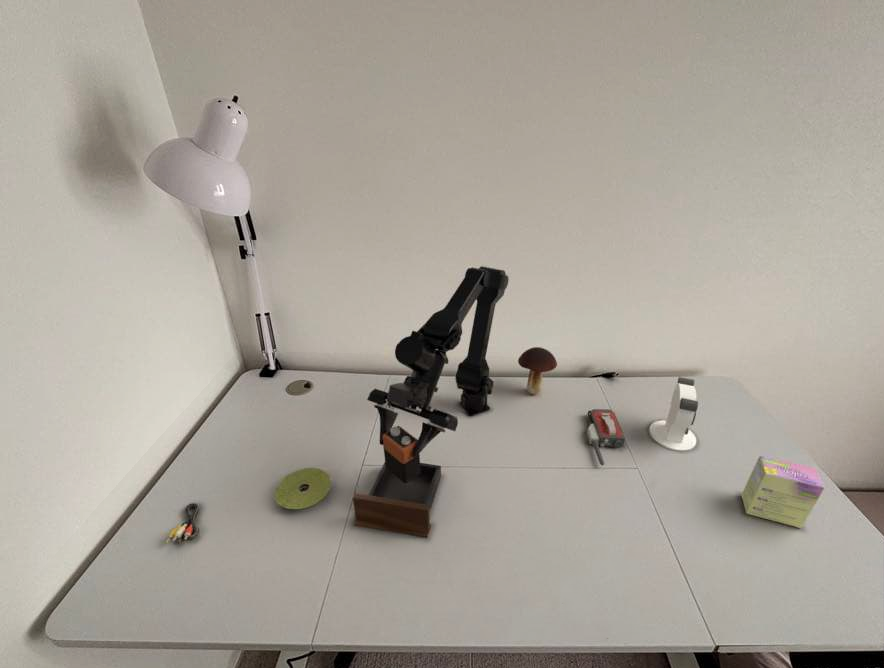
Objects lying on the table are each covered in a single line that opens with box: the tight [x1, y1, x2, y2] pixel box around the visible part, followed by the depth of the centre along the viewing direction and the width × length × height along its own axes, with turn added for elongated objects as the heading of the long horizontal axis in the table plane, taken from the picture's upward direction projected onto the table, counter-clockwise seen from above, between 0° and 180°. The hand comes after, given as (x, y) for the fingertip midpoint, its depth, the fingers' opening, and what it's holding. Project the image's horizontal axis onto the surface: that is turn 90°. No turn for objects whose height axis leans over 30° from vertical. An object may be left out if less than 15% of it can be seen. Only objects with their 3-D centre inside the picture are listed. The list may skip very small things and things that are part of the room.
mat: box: [274, 467, 332, 510], centre depth 93 cm, size 11×11×2 cm
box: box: [741, 455, 826, 529], centre depth 90 cm, size 10×6×12 cm, turn 71°
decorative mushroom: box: [517, 346, 558, 395], centre depth 125 cm, size 11×11×15 cm
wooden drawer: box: [352, 462, 442, 539], centre depth 91 cm, size 16×15×7 cm
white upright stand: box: [648, 376, 699, 452], centre depth 110 cm, size 12×11×15 cm
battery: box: [382, 425, 421, 483], centre depth 89 cm, size 4×7×10 cm, turn 47°
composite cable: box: [165, 502, 200, 544], centre depth 85 cm, size 10×5×2 cm, turn 10°
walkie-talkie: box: [586, 408, 626, 466], centre depth 110 cm, size 9×4×20 cm
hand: (397, 450), depth 87 cm, fingers closed on battery, 7 cm apart
